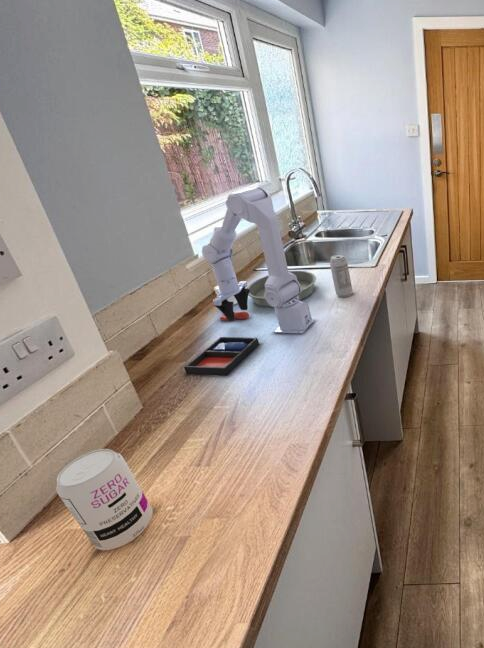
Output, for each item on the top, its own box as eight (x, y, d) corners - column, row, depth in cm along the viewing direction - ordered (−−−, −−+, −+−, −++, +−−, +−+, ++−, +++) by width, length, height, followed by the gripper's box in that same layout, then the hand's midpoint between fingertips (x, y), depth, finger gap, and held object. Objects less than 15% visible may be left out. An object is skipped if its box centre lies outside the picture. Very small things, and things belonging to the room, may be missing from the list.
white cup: (231, 307, 145) (225, 290, 142) (215, 306, 146) (209, 289, 143) (244, 299, 151) (239, 282, 148) (228, 298, 152) (223, 281, 149)
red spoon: (252, 316, 138) (250, 309, 137) (246, 321, 135) (244, 314, 134) (227, 315, 139) (225, 309, 138) (220, 320, 136) (218, 314, 135)
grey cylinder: (350, 289, 154) (343, 252, 148) (355, 295, 149) (348, 257, 143) (334, 293, 151) (326, 256, 145) (338, 299, 147) (331, 261, 140)
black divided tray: (259, 344, 121) (257, 337, 120) (227, 375, 108) (224, 368, 106) (223, 343, 122) (220, 336, 121) (186, 374, 109) (183, 366, 108)
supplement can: (117, 509, 73) (79, 448, 66) (164, 504, 73) (131, 443, 67) (82, 555, 65) (35, 492, 59) (135, 549, 66) (94, 486, 59)
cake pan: (241, 313, 140) (237, 302, 138) (257, 285, 162) (254, 275, 160) (315, 303, 145) (312, 291, 143) (320, 277, 167) (318, 267, 165)
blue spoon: (250, 346, 119) (248, 340, 118) (243, 353, 116) (241, 346, 115) (221, 346, 120) (219, 339, 119) (213, 352, 117) (211, 345, 116)
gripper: (229, 269, 138) (240, 304, 143) (199, 287, 125) (212, 325, 130) (248, 269, 137) (258, 304, 143) (219, 287, 124) (232, 325, 130)
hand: (238, 314), depth 136 cm, fingers open, 6 cm apart
